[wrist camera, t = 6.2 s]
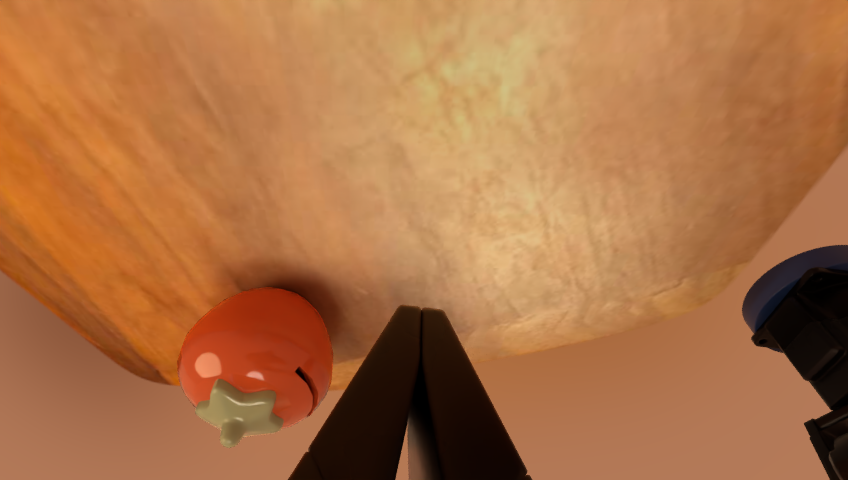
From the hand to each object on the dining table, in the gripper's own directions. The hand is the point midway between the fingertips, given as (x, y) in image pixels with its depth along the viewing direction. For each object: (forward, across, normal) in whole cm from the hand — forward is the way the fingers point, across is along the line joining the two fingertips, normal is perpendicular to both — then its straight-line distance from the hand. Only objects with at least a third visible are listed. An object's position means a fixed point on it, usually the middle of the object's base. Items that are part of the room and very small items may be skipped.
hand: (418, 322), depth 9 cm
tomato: (+12, +7, +13) cm, 19 cm away
